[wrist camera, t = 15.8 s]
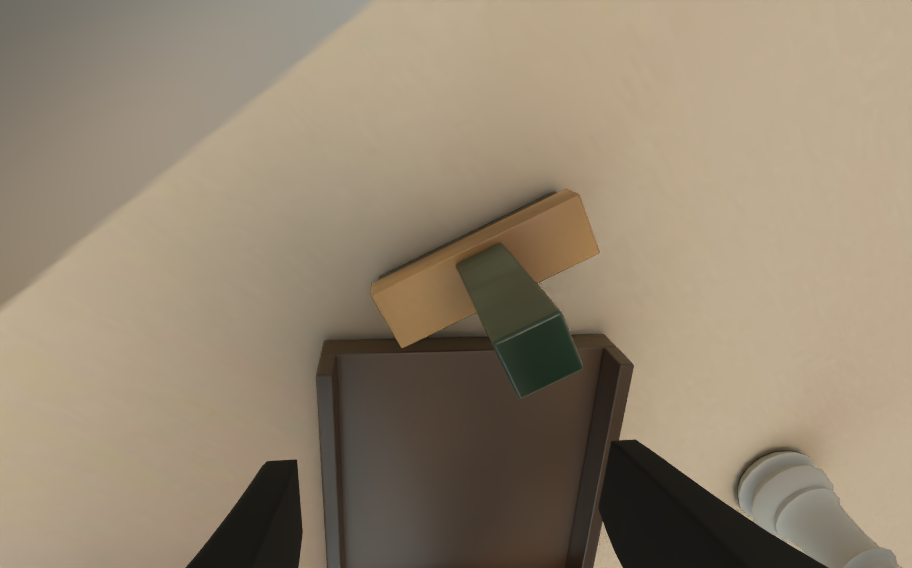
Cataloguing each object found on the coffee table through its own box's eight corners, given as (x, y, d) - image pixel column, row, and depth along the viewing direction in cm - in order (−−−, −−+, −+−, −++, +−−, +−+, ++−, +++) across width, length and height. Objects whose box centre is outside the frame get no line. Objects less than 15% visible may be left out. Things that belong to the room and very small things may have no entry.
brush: (399, 323, 20) (412, 463, 12) (371, 274, 19) (365, 392, 11) (577, 237, 20) (703, 324, 12) (557, 183, 19) (680, 240, 11)
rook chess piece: (817, 484, 27) (984, 630, 19) (745, 524, 27) (883, 683, 20) (797, 431, 25) (971, 569, 18) (721, 475, 25) (861, 628, 18)
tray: (336, 590, 24) (331, 646, 22) (323, 340, 19) (315, 375, 17) (564, 567, 26) (583, 616, 24) (604, 333, 21) (634, 364, 19)
